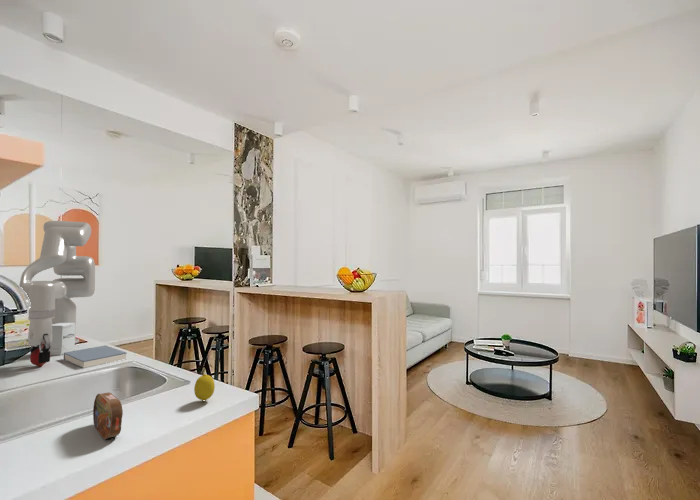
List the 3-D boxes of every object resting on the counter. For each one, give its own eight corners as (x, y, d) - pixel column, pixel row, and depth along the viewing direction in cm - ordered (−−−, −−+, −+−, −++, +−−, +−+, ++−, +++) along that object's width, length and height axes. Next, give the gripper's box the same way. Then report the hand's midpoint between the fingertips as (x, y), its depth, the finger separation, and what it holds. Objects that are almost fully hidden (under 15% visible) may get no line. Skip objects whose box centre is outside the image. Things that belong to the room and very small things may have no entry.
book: (63, 360, 142) (63, 352, 142) (105, 352, 154) (105, 345, 154) (83, 369, 131) (83, 361, 131) (126, 359, 143) (126, 352, 143)
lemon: (218, 399, 104) (219, 372, 104) (205, 406, 99) (205, 378, 99) (203, 396, 106) (204, 370, 106) (189, 403, 100) (190, 375, 101)
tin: (91, 423, 88) (92, 390, 88) (106, 419, 90) (107, 386, 90) (107, 445, 78) (109, 407, 78) (124, 440, 80) (125, 403, 80)
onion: (35, 369, 128) (36, 348, 129) (25, 368, 130) (26, 346, 130) (53, 365, 134) (54, 344, 134) (43, 363, 136) (44, 343, 136)
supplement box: (61, 355, 147) (62, 325, 148) (44, 355, 147) (45, 325, 148) (75, 350, 155) (76, 322, 155) (59, 350, 155) (60, 322, 155)
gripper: (21, 313, 134) (19, 358, 134) (36, 318, 125) (34, 367, 124) (46, 311, 140) (44, 354, 140) (62, 315, 131) (60, 362, 130)
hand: (40, 360), depth 132 cm, fingers open, 8 cm apart
